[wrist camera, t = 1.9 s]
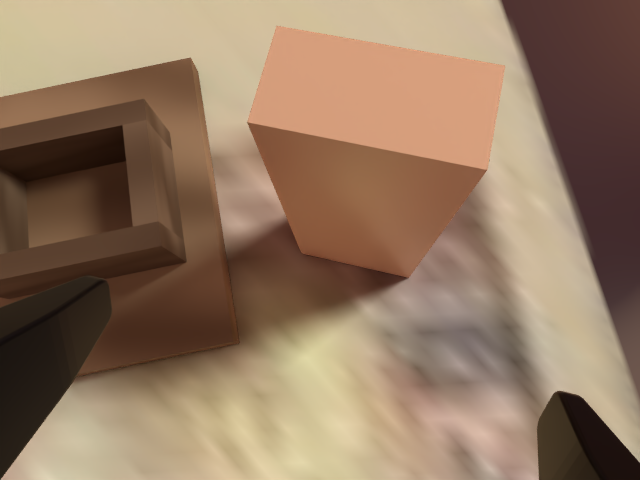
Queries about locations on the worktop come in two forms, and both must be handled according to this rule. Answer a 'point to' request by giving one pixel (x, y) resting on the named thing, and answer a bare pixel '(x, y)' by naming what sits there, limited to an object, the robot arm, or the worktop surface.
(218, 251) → the square socket base
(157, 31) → the worktop surface
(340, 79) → the clay rectangular block
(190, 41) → the worktop surface
